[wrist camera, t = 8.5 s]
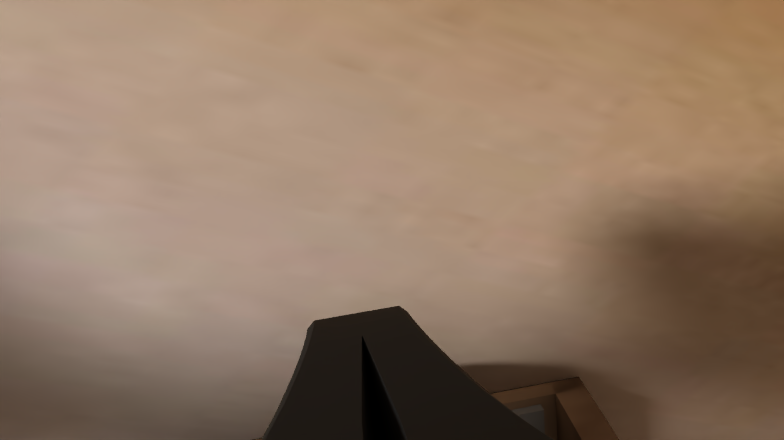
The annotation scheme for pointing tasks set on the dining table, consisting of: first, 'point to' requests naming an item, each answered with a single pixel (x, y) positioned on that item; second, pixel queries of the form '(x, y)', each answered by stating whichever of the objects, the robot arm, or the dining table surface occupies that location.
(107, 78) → the dining table surface
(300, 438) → the robot arm
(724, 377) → the dining table surface
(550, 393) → the u rest
